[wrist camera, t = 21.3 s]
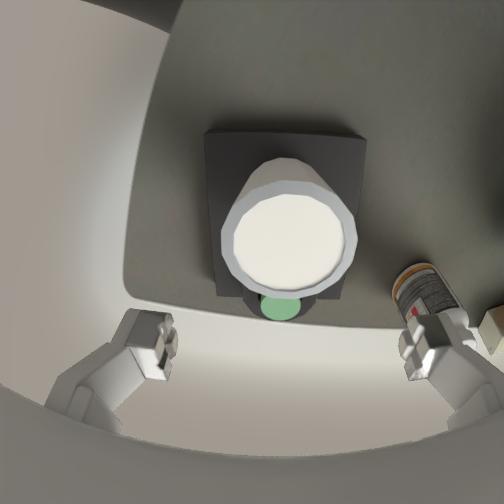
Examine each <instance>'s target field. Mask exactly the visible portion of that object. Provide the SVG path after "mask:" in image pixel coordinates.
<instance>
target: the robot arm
mask: <svg viewBox="0 0 504 504" xmlns="http://www.w3.org/2000/svg"><path fill="white" fill-rule="evenodd" d="M172 324H173V318H172V315H171V314H170V313H165V312H156V311H148V310H139V309H131V308H130V309H128V310H127V311H126V313H125V315H124V317H123V319H122V321H121V323H120V325H119V327H118V329H117V331H116V333H115V335H114V337H113V339H112V341H111V343H105V344H104V345H102V346H101V347H100V348H98V349H97V350H95V351H94V352H92V353H91V354H90V355H88V356H86V357H85V358H84V359H82V360H81V361H79V362H78V363H76V364H75V365H74V366H72V367H71V368H69V369H68V370H66V371H65V372H63V373H62V374H61V375H59V376H58V378H57V380H56V382H55V384H54V386H53V388H52V390H51V392H50V394H49V396H48V398H47V401H46V403H45V405H44V406H42V405H40V404H38V403H36V402H34V401H32V400H30V399H28V398H25V397H24V396H22V395H20V394H18V393H16V392H14V391H12V390H10V389H9V388H7V387H5V386H3V385H2V384H0V504H504V374H503V373H502V372H501V371H500V370H499V369H497V368H496V367H495V366H494V365H492V364H491V363H490V362H489V361H487V360H486V359H485V358H484V357H482V356H481V355H480V354H479V353H477V352H476V351H475V350H473V349H472V348H471V347H470V346H468V345H467V344H465V345H464V344H463V342H462V340H461V338H460V336H459V334H458V332H457V330H456V328H455V327H454V325H453V323H452V321H451V319H450V317H449V315H448V314H446V313H436V314H424V315H412V316H411V317H410V318H409V319H408V321H407V323H406V324H407V326H408V328H406V329H405V330H404V331H403V332H402V334H401V336H400V338H399V345H398V346H399V352H400V355H401V357H402V358H403V359H404V360H405V361H406V363H405V366H404V368H405V370H406V374H407V377H408V380H409V381H414V380H420V379H427V378H428V381H429V382H430V383H431V384H432V385H433V386H434V387H435V388H436V389H437V391H438V392H439V393H440V394H441V395H442V396H443V397H444V398H445V400H446V401H447V402H448V403H449V404H450V405H451V406H452V407H453V409H454V410H455V411H456V412H454V414H452V415H451V416H450V417H449V418H448V420H447V425H448V429H449V430H448V431H445V432H442V433H439V434H435V435H432V436H429V437H425V438H421V439H417V440H413V441H409V442H405V443H400V444H396V445H391V446H386V447H381V448H375V449H368V450H362V451H355V452H346V453H338V454H326V455H312V456H247V455H232V454H222V453H212V452H204V451H197V450H190V449H183V448H178V447H172V446H166V445H162V444H157V443H153V442H148V441H144V440H140V439H136V438H132V437H128V436H124V435H121V434H120V430H121V427H122V423H121V422H120V420H119V419H118V418H117V417H116V416H115V415H114V414H113V413H112V412H113V411H114V410H115V409H116V408H117V407H118V406H119V405H120V404H121V403H122V402H123V401H124V400H125V399H126V398H127V397H128V396H129V395H130V394H131V393H132V392H133V391H134V390H135V389H136V388H137V387H138V386H139V385H140V384H141V383H142V382H144V381H145V378H146V379H152V380H160V381H168V379H169V376H170V373H171V369H172V364H171V361H170V360H171V359H172V358H173V357H174V356H175V355H176V352H177V346H178V335H177V331H176V329H175V328H173V327H172Z"/></svg>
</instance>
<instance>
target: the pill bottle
mask: <svg viewBox="0 0 504 504" xmlns="http://www.w3.org/2000/svg"><path fill="white" fill-rule="evenodd" d="M392 298H393V301H394V303H395V305H396V308H397V310H398V312H399V315H400V317H401V319H402V321H403V323H404V325H405V328H408V326H407V324H406V323H407V321H408V319H409V318H410V317H411V316H412V315H424V314H436V313H446V314H448V315H449V317H450V319H451V321H452V323H453V325H454V327H455V328H456V330H457V332H458V334H459V336H460V338H461V340H462V342H463V344H464V345H465V344H467V345H468V346H470V347H471V348H472V349H473V350H475V351H476V348H477V342H476V340H475V338H474V336H473V334H472V332H471V331H470V330H468V329H467V328H468V322H469V321H468V316H467V313H466V311H465V309H464V308H463V306H462V304H461V303H460V301H459V300H458V298H457V297H456V295H455V294H454V292H453V291H452V289H451V288H450V286H449V285H448V283H447V282H446V280H445V279H444V277H443V276H442V274H441V273H440V272H439V270H438V269H437V268H436V267H435V266H434V265H432V264H429V263H418V264H415V265H412V266H410V267H409V268H407V269H405V270H404V271H403V272H402V273H401V274H400V275H399V277H398V278H397V279H396V281H395V283H394V286H393V289H392Z"/></svg>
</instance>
